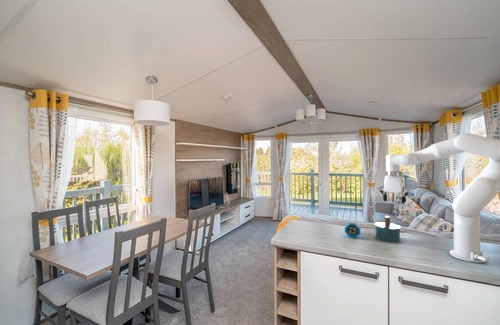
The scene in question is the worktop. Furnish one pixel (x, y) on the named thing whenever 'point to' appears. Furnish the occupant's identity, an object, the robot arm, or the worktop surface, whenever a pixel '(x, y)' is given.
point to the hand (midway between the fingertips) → (394, 202)
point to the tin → (388, 235)
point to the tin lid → (387, 224)
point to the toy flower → (352, 230)
